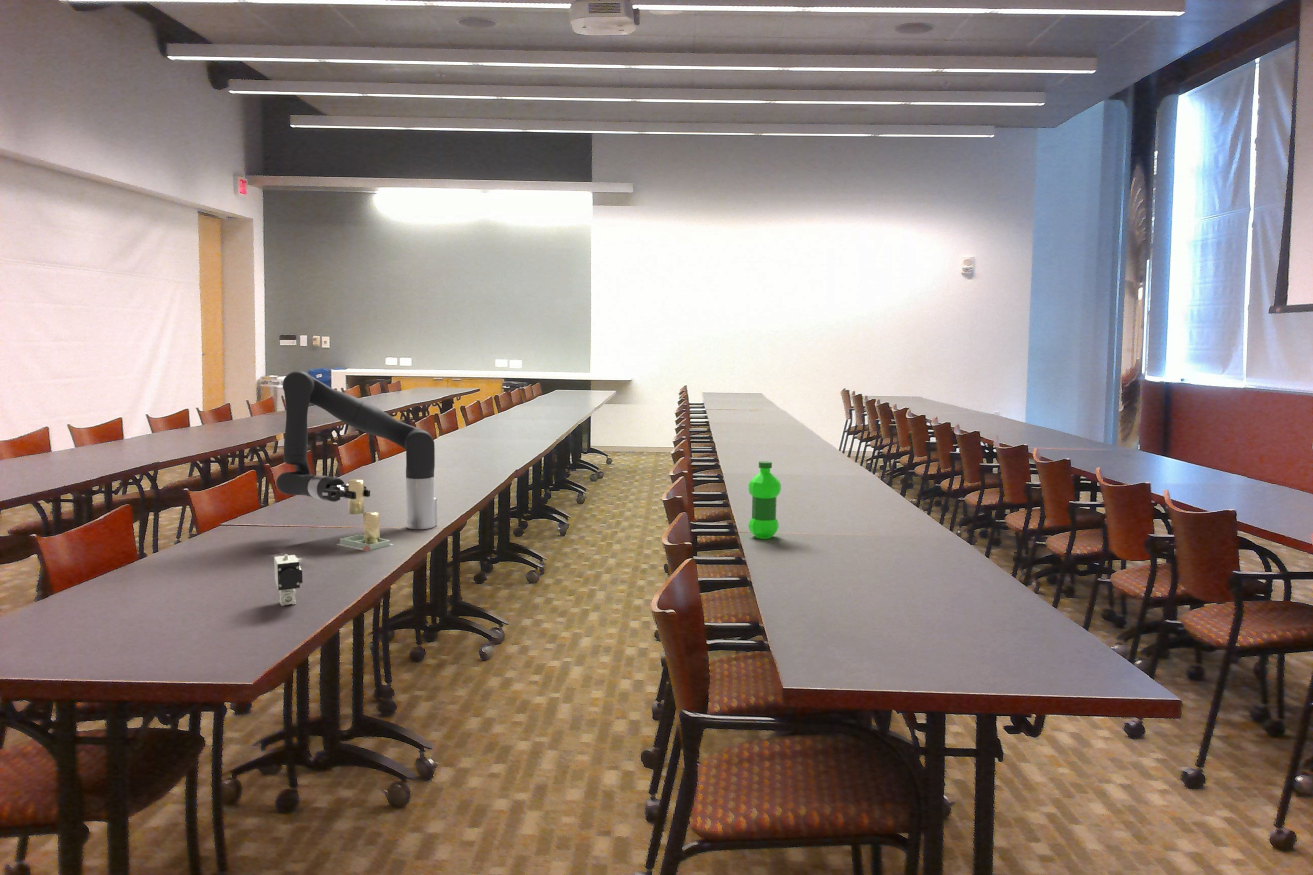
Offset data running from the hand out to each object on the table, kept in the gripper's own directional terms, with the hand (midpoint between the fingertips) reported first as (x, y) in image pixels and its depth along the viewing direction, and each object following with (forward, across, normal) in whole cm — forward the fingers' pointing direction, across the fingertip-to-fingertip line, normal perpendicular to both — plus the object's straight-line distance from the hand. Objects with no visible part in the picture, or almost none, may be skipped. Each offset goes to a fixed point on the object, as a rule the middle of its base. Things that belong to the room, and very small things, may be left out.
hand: (362, 494), depth 258 cm
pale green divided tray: (+1, 0, +17) cm, 17 cm away
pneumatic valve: (+30, -45, +17) cm, 57 cm away
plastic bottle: (+93, +87, +16) cm, 128 cm away
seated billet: (+4, 0, +15) cm, 16 cm away
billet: (-3, 0, +6) cm, 7 cm away
